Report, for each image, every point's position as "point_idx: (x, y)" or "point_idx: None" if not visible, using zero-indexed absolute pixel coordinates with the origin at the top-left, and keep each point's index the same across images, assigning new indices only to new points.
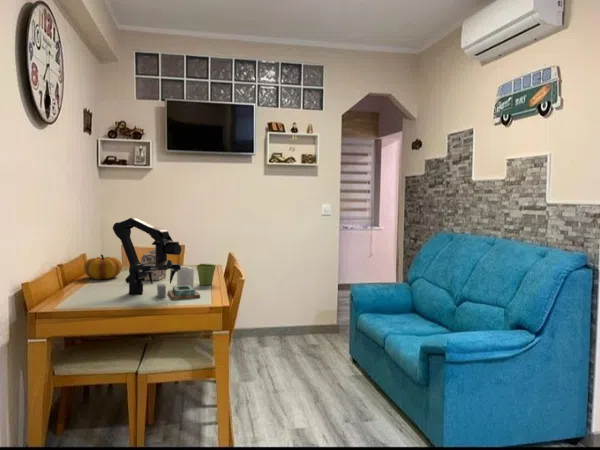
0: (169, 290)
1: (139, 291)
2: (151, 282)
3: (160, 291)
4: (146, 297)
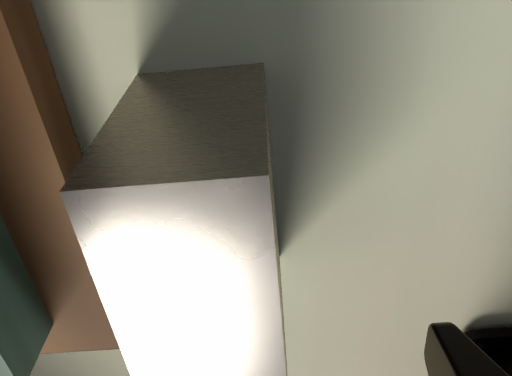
0: (105, 348)
1: (507, 371)
2: (480, 365)
3: (222, 116)
4: (455, 147)
